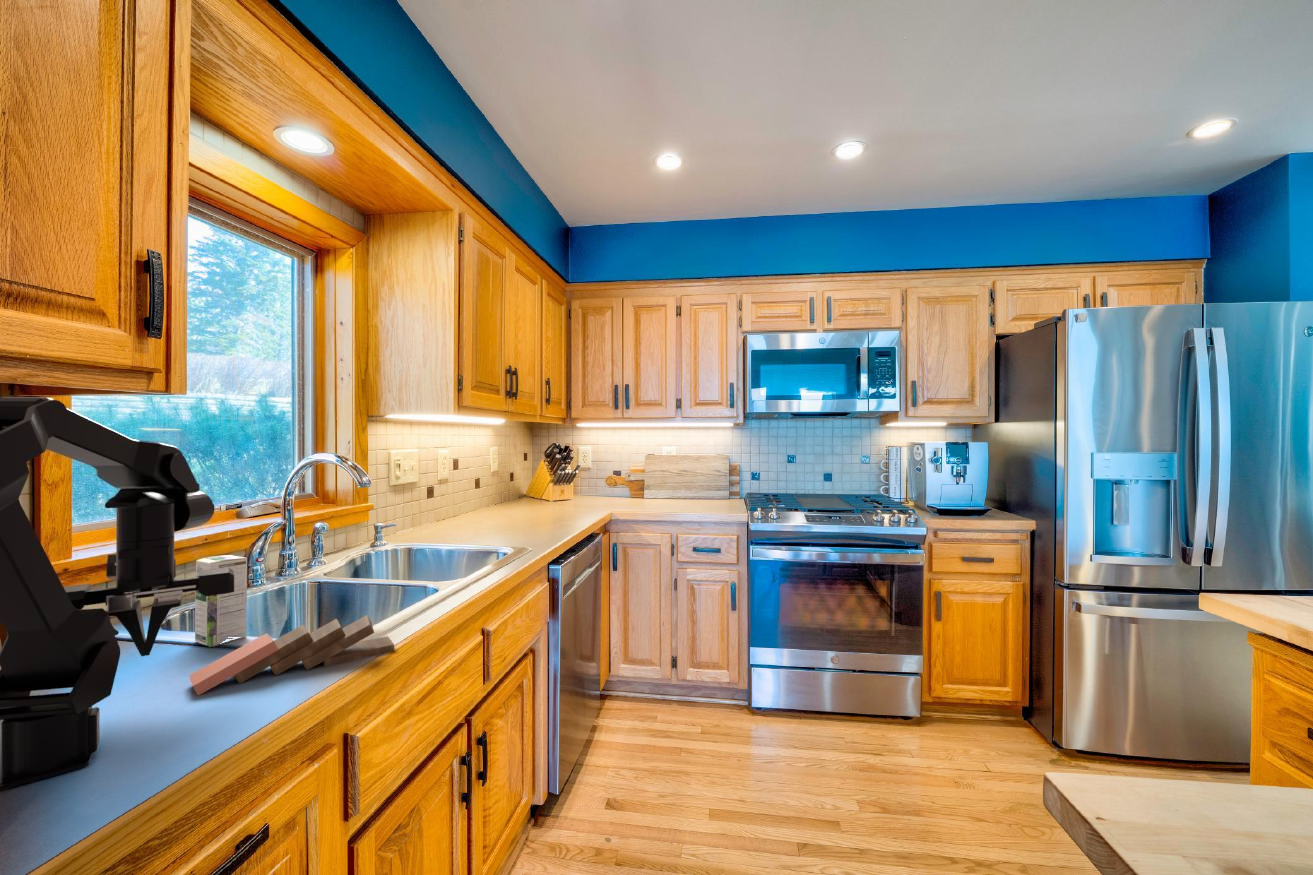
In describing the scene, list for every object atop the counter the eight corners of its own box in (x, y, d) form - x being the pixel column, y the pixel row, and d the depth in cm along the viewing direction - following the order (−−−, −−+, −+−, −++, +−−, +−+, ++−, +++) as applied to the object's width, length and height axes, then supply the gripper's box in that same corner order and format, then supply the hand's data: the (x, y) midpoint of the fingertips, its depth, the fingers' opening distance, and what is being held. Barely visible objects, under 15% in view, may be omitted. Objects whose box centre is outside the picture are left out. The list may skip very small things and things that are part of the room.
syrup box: (193, 642, 95) (193, 559, 95) (232, 632, 101) (232, 553, 101) (209, 648, 93) (209, 562, 93) (248, 637, 98) (248, 556, 98)
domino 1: (192, 686, 75) (273, 640, 81) (188, 675, 78) (266, 632, 85) (198, 695, 75) (278, 649, 82) (194, 684, 79) (271, 641, 85)
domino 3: (270, 667, 81) (340, 626, 87) (269, 656, 85) (336, 618, 90) (275, 675, 81) (345, 635, 87) (274, 664, 85) (341, 626, 91)
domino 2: (233, 674, 78) (308, 632, 85) (231, 664, 82) (302, 624, 88) (239, 683, 79) (313, 640, 85) (236, 673, 83) (307, 632, 89)
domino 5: (324, 659, 85) (394, 644, 91) (320, 649, 89) (387, 636, 95) (324, 669, 85) (394, 654, 91) (320, 659, 89) (387, 645, 95)
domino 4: (301, 662, 83) (369, 624, 88) (302, 650, 87) (367, 614, 92) (307, 670, 83) (374, 632, 88) (307, 658, 87) (371, 622, 92)
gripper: (231, 525, 86) (231, 625, 86) (57, 539, 74) (56, 655, 74) (234, 533, 77) (234, 644, 77) (37, 550, 65) (36, 682, 65)
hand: (145, 655), depth 73 cm, fingers closed
